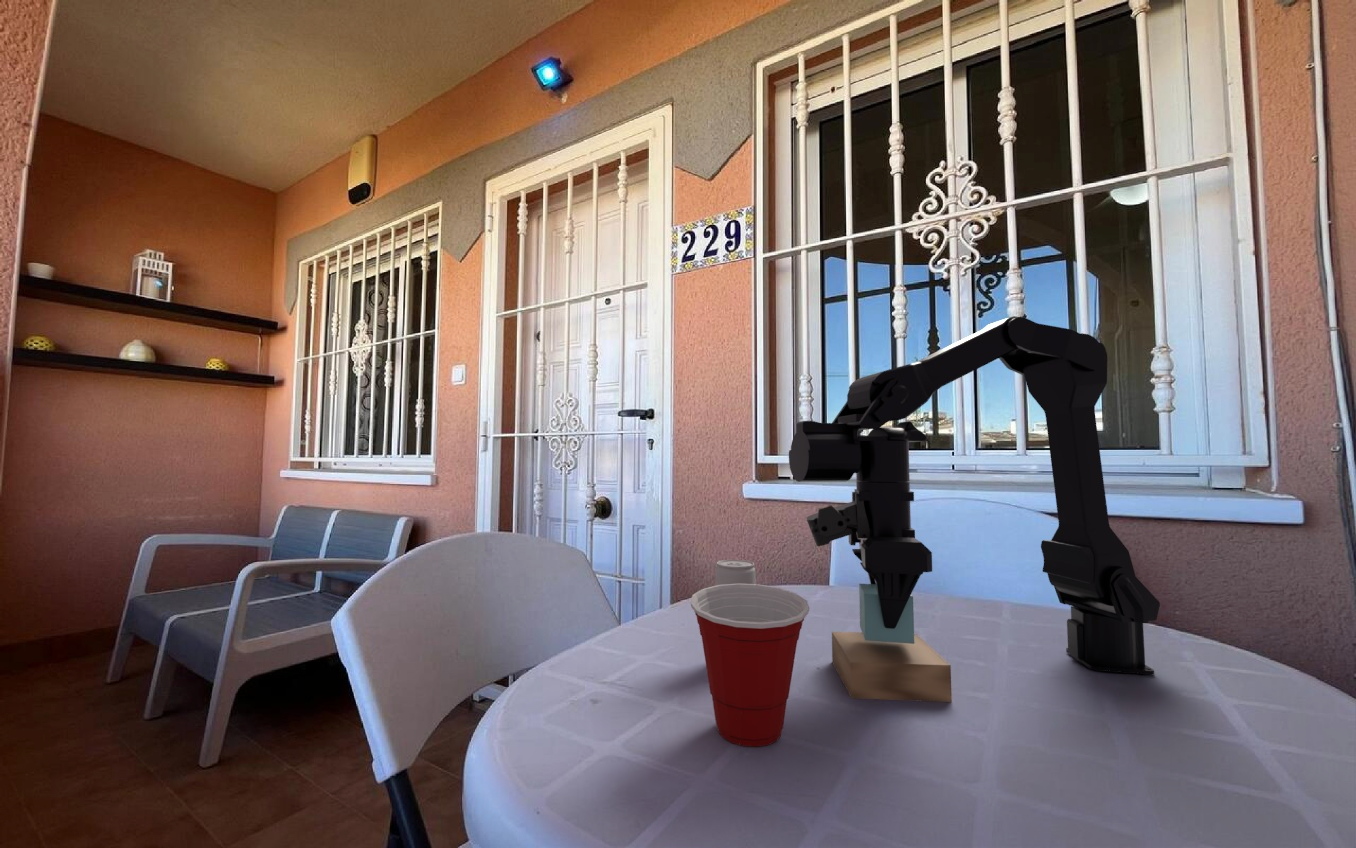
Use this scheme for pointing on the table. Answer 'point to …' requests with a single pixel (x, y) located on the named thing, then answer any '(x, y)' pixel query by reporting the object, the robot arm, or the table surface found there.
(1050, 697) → the table surface
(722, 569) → the beverage can
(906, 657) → the light brown wooden block
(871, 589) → the teal cube
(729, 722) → the plastic cup
